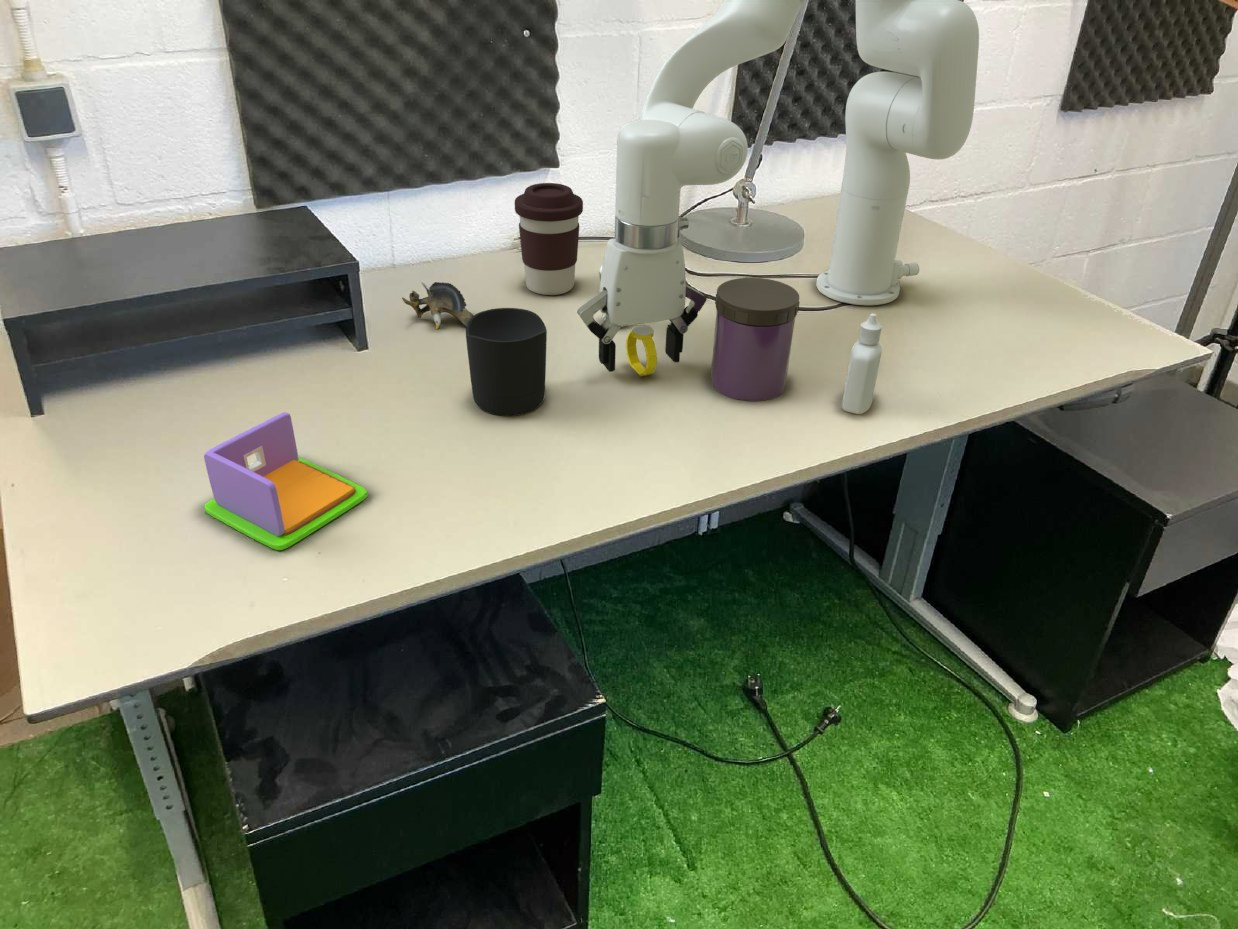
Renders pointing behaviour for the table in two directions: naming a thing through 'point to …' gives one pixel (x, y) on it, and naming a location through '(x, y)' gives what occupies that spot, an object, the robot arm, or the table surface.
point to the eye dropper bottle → (863, 368)
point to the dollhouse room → (274, 486)
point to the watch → (645, 335)
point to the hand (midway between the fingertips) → (640, 362)
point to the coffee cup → (549, 236)
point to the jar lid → (757, 301)
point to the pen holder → (507, 360)
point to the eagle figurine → (440, 302)
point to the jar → (750, 359)
